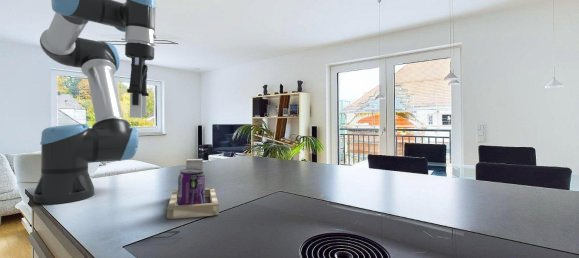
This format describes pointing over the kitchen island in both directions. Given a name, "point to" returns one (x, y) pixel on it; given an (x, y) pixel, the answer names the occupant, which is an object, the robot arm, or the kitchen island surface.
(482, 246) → the kitchen island surface
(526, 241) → the kitchen island surface
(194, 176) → the beverage can
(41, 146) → the robot arm
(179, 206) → the can sled
